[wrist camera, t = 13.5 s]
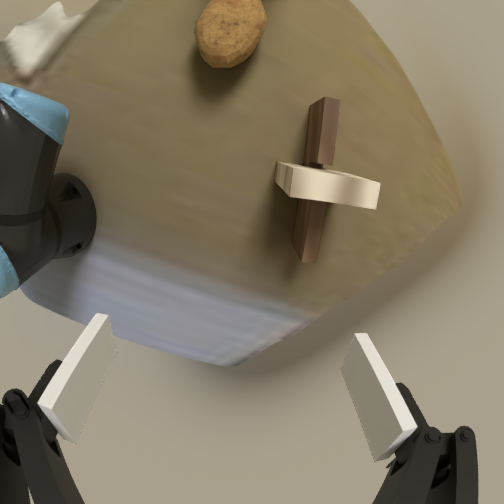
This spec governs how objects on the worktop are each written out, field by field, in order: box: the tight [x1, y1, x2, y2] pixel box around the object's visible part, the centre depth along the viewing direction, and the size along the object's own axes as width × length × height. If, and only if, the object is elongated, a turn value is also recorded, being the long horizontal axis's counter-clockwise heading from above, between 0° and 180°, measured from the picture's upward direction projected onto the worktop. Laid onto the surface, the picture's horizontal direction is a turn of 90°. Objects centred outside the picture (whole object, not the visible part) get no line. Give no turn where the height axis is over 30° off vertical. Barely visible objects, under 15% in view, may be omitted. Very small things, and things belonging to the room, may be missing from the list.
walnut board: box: [292, 97, 340, 263], centre depth 36 cm, size 2×22×8 cm, turn 174°
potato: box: [194, 0, 267, 68], centre depth 28 cm, size 10×14×8 cm
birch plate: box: [274, 162, 381, 209], centre depth 34 cm, size 10×3×14 cm, turn 84°
